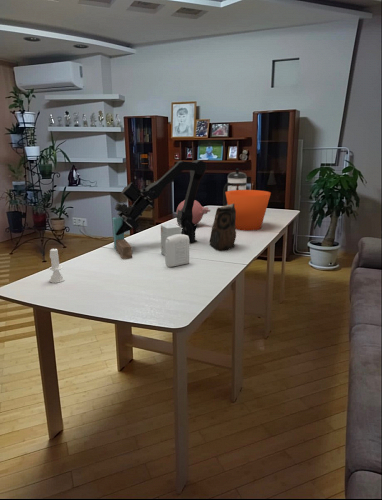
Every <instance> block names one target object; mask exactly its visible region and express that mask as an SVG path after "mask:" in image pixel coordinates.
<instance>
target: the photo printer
mask: <svg viewBox="0 0 382 500" xmlns="http://www.w3.org/2000/svg"><path fill="white" fill-rule="evenodd" d="M164 259H165V266H166V267H168V268H170V267H177V266H182V265H186V264H189V263H190V243H189V237H188V236H187V235H184V234H176V235H172V236H170V237H168V238H166V240H165V255H164Z"/></svg>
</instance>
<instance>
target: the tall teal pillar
mask: <svg viewBox="0 0 382 500" xmlns="http://www.w3.org/2000/svg"><path fill="white" fill-rule="evenodd" d="M122 220H123V218H122V217H120V216H119V217H112V231H113V233H112V234H113V247H114V249H115V250H116V240H120V239H125V232H124V233H122V234H120V235H118V236H117V235H116V233H117V231H118V229H119V228H120V226H121V225H122Z"/></svg>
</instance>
